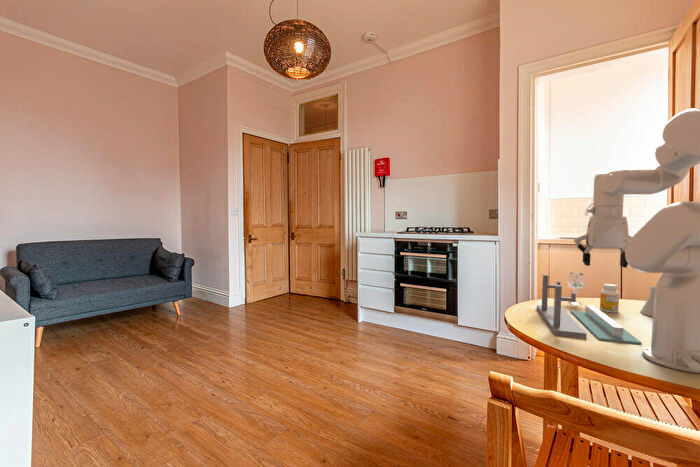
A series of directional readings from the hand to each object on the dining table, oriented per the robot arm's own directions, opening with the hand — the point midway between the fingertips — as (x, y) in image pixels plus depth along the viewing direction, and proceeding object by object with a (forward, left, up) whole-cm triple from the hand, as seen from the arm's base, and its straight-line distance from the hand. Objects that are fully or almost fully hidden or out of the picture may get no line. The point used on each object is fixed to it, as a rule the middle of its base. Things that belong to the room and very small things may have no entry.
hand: (605, 266), depth 105 cm
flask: (+20, -22, -20) cm, 36 cm away
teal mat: (0, 0, -20) cm, 20 cm away
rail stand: (0, +12, -20) cm, 23 cm away
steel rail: (0, 0, -19) cm, 19 cm away
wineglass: (+28, 0, -20) cm, 34 cm away
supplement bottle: (+21, -9, -20) cm, 30 cm away
